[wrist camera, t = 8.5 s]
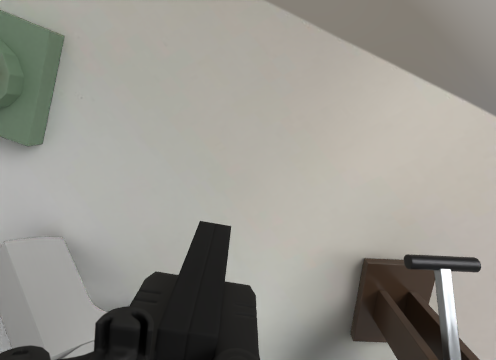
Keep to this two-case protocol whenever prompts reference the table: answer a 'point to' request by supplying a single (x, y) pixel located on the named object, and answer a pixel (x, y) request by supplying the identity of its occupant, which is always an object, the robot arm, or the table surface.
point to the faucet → (45, 298)
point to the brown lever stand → (399, 311)
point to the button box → (26, 78)
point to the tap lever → (445, 294)
